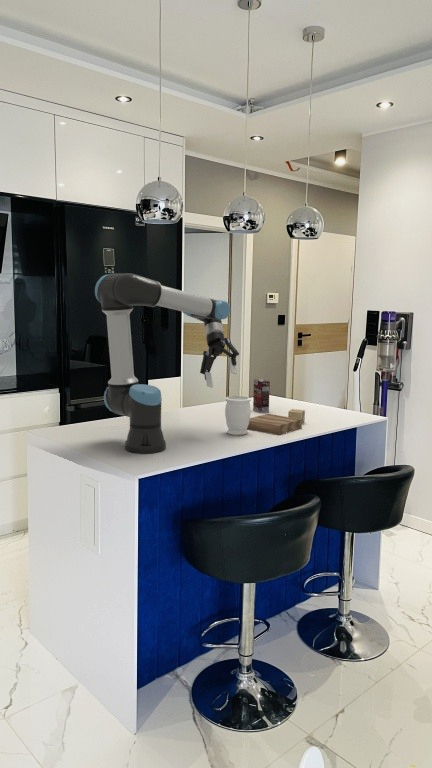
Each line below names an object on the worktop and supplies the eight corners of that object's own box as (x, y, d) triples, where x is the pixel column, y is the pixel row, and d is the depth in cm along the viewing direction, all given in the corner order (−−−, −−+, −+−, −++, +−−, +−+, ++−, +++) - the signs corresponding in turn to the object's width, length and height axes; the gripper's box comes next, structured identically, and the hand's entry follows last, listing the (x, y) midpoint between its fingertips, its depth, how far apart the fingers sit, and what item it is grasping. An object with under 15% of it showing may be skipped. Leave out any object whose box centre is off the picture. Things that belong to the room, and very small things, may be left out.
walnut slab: (279, 435, 251) (279, 425, 251) (244, 428, 262) (244, 419, 262) (301, 428, 265) (301, 419, 265) (267, 422, 276) (267, 413, 276)
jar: (228, 436, 247) (229, 400, 245) (221, 430, 257) (222, 396, 255) (253, 435, 250) (254, 399, 248) (245, 429, 260) (246, 395, 258)
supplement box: (252, 410, 304) (253, 379, 302) (260, 409, 306) (261, 378, 304) (260, 413, 297) (261, 381, 294) (269, 412, 299) (270, 381, 296)
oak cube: (300, 425, 271) (301, 412, 270) (288, 424, 273) (288, 411, 272) (304, 423, 276) (304, 410, 276) (291, 421, 279) (292, 409, 278)
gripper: (242, 324, 249) (250, 369, 240) (200, 350, 264) (206, 394, 254) (230, 319, 244) (237, 364, 235) (188, 345, 259) (194, 389, 249)
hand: (221, 380), depth 245 cm, fingers open, 13 cm apart
